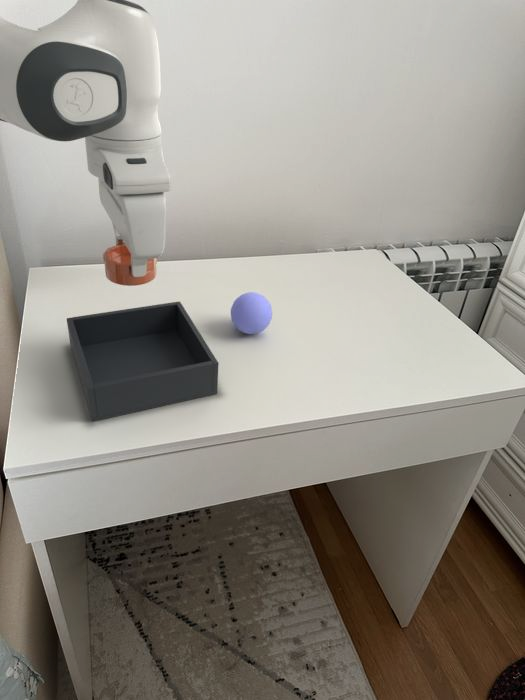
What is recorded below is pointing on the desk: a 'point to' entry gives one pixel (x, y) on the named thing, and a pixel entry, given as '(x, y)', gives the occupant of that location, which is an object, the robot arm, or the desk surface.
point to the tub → (140, 359)
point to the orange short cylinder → (125, 267)
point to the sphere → (251, 313)
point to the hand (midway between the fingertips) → (130, 261)
